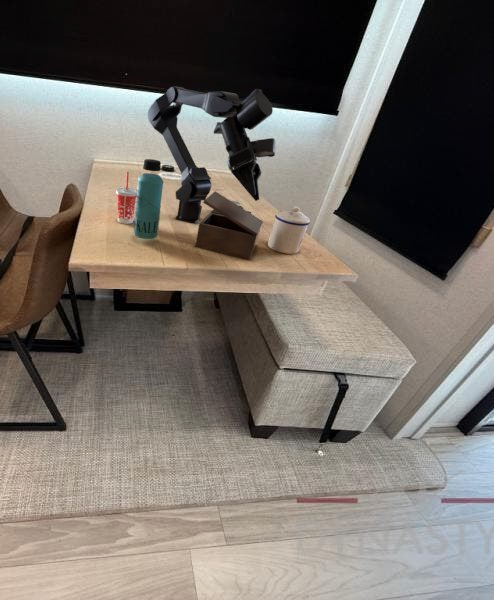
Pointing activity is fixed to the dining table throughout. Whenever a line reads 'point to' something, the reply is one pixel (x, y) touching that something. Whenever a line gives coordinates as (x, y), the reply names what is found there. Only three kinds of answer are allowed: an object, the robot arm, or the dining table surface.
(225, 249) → the box
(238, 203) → the push lid
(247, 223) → the lid
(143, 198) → the beverage bottle
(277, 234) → the teacup with lid
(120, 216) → the beverage cup
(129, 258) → the dining table surface
